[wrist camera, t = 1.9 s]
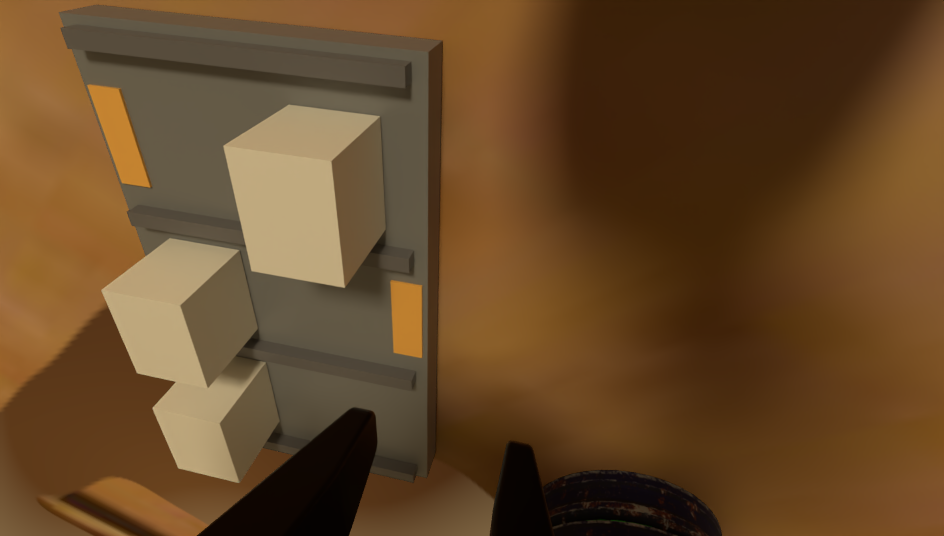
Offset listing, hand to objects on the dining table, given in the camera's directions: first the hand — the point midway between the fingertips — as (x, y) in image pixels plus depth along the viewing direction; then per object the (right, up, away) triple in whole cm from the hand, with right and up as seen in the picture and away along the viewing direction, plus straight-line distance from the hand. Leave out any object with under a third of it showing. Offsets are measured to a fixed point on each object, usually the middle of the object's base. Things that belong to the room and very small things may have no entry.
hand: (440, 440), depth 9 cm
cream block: (-10, -3, +16) cm, 19 cm away
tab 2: (-4, +6, +8) cm, 11 cm away
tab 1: (-10, +2, +13) cm, 16 cm away
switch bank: (-7, +3, +14) cm, 15 cm away
